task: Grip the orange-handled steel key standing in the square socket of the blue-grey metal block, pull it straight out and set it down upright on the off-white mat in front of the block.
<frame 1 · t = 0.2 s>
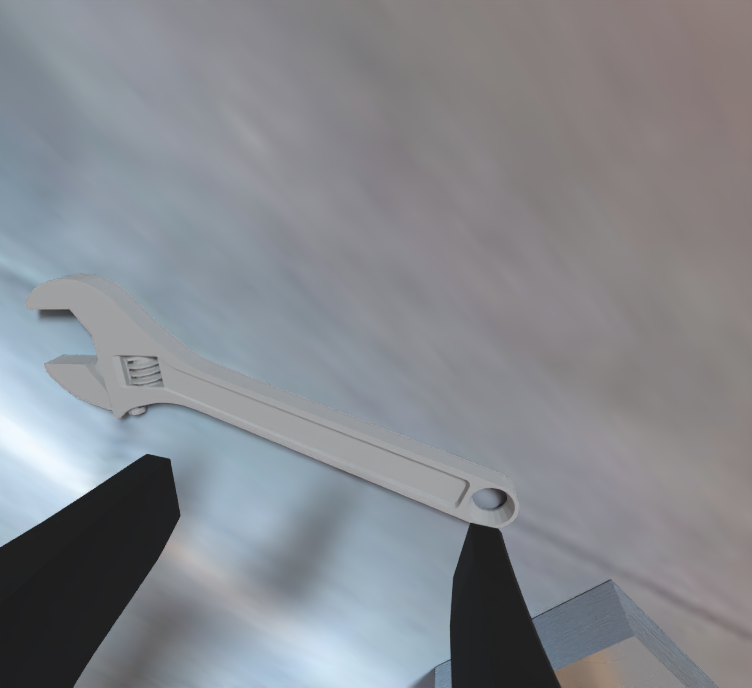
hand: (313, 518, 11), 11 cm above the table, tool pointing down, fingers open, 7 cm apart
adjustable wrench: (274, 411, 23), on the table
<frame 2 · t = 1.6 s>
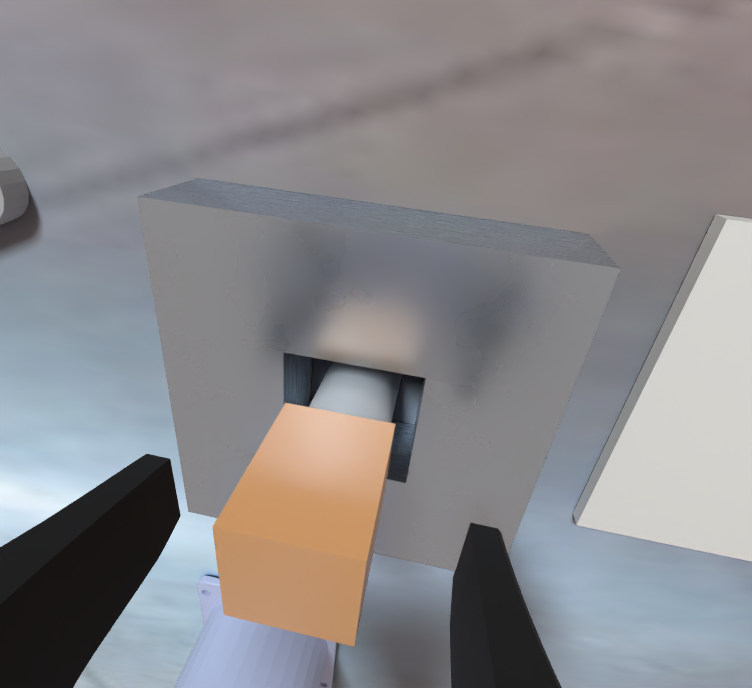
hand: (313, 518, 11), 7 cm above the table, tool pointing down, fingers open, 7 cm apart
key: (338, 448, 13), in the socket block
socket block: (366, 370, 16), on the table
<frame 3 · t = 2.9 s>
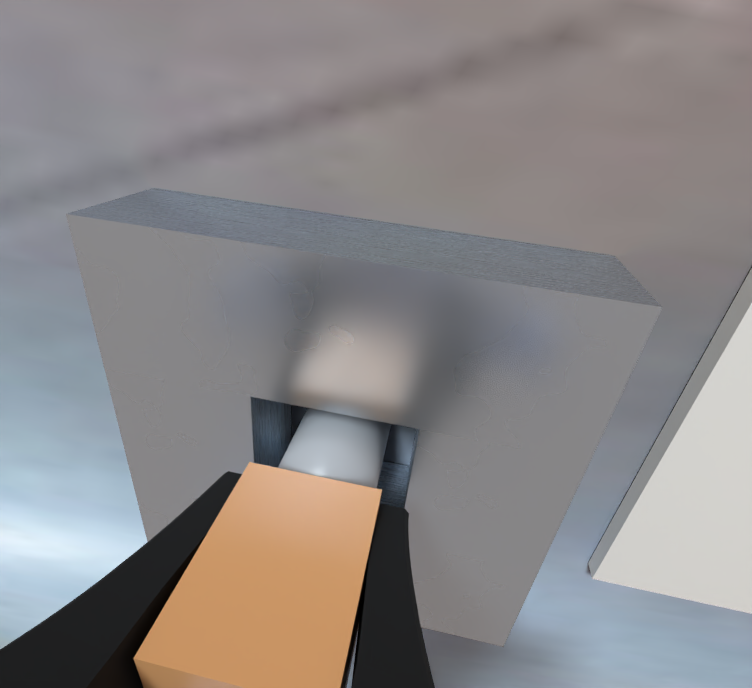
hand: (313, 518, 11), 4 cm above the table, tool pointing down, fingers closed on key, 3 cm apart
key: (315, 512, 11), in the socket block, touching gripper
socket block: (353, 406, 14), on the table
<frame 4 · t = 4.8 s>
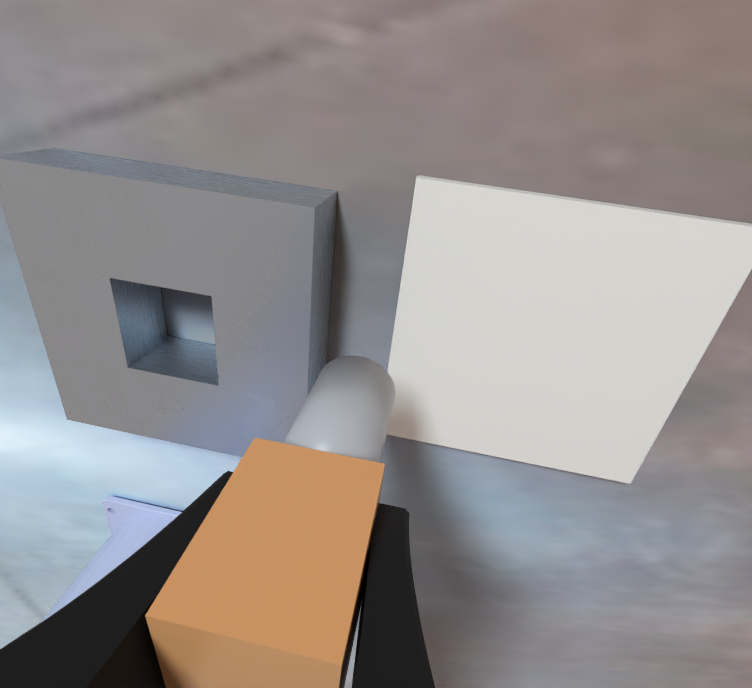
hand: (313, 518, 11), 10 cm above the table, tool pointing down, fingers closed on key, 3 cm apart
key: (319, 488, 11), point 10 cm above the table, touching gripper
socket block: (203, 304, 21), on the table
mat: (535, 344, 19), on the table
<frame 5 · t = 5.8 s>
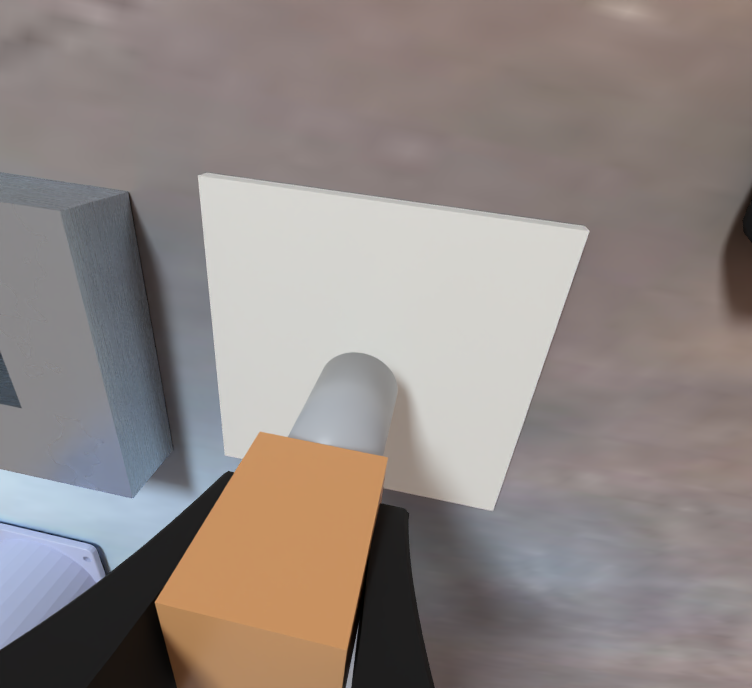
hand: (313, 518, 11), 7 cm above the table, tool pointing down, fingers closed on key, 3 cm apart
key: (323, 482, 11), point 7 cm above the table, touching gripper
socket block: (23, 317, 19), on the table
mat: (370, 359, 17), on the table
when the fingers open (6 cm above the table, at t = 6.7 s): key stays where it is, resting on mat.
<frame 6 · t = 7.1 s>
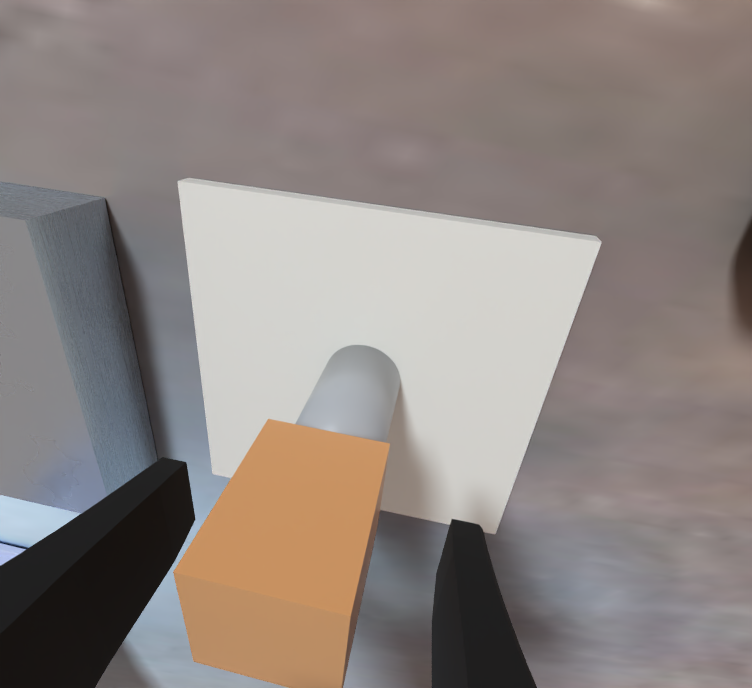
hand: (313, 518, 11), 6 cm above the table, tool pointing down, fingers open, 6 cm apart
key: (328, 468, 12), on the mat, point 5 cm above the table
mat: (364, 376, 16), on the table
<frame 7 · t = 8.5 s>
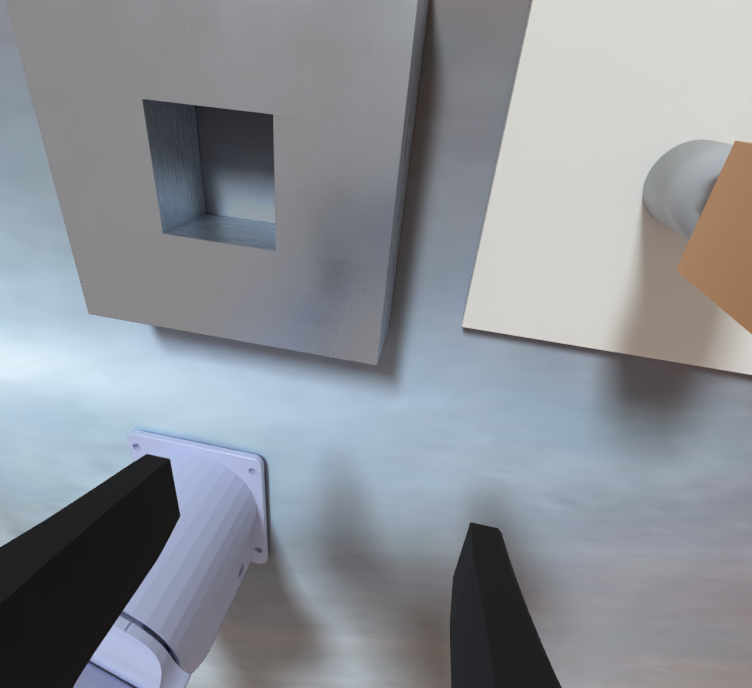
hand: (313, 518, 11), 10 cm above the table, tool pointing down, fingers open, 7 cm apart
socket block: (251, 166, 17), on the table
mat: (675, 191, 15), on the table
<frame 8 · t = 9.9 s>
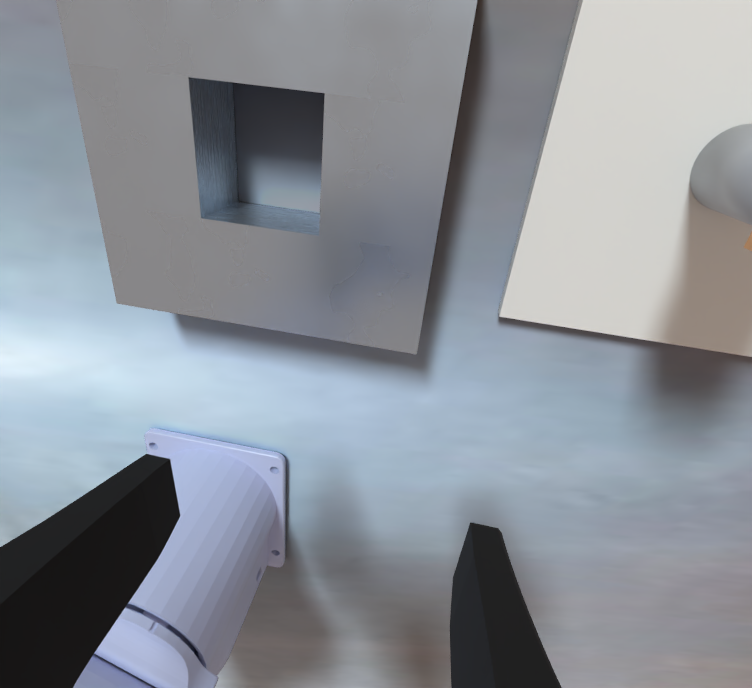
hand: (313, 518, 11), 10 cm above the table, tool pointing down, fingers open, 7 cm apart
socket block: (288, 152, 17), on the table
mat: (720, 177, 15), on the table
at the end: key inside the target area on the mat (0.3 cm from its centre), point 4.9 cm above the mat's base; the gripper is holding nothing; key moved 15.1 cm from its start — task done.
